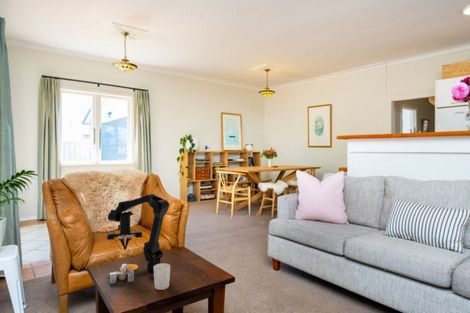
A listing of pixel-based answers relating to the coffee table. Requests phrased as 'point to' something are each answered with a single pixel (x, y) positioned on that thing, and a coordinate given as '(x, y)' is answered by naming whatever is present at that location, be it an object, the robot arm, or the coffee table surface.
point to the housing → (114, 275)
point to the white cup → (161, 276)
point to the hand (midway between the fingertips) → (125, 249)
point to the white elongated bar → (124, 267)
